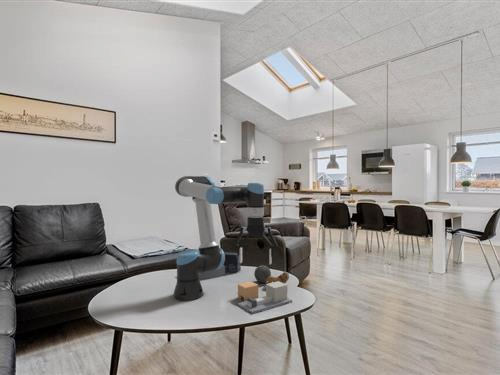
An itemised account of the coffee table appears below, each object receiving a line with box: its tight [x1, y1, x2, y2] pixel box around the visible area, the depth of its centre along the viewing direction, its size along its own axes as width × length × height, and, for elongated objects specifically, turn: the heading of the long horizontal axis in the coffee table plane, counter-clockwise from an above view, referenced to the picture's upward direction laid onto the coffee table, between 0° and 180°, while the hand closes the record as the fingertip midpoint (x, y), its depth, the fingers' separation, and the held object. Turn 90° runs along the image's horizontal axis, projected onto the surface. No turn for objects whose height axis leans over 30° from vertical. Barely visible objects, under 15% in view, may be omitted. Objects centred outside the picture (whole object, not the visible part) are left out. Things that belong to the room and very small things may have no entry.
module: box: [237, 281, 259, 302], centre depth 151 cm, size 7×8×7 cm
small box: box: [223, 251, 242, 273], centre depth 201 cm, size 13×7×12 cm, turn 74°
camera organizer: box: [199, 265, 226, 281], centre depth 191 cm, size 16×22×6 cm
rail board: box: [237, 281, 293, 315], centre depth 144 cm, size 12×24×8 cm, turn 124°
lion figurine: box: [263, 271, 290, 288], centre depth 166 cm, size 15×5×9 cm, turn 93°
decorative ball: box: [254, 265, 272, 284], centre depth 176 cm, size 10×10×10 cm
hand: (255, 263), depth 134 cm, fingers open, 13 cm apart
